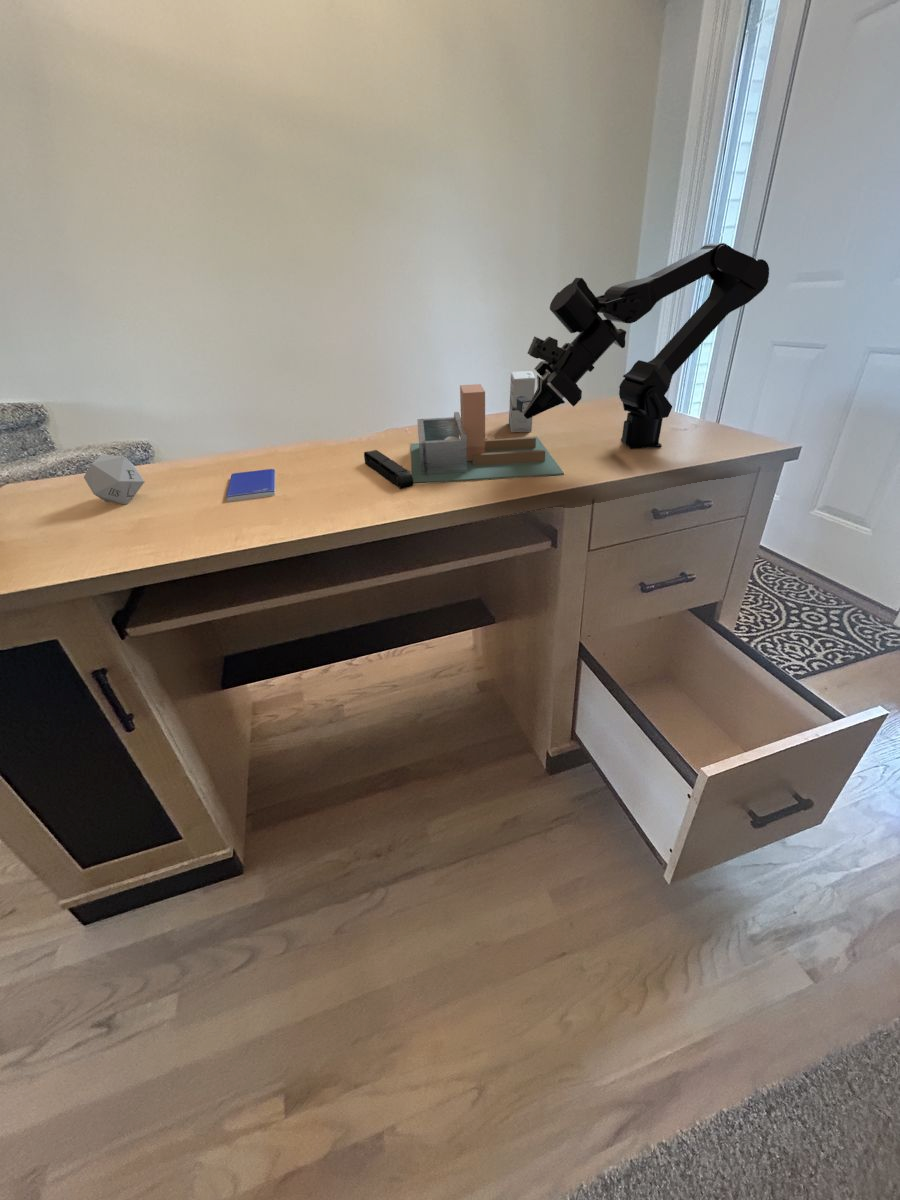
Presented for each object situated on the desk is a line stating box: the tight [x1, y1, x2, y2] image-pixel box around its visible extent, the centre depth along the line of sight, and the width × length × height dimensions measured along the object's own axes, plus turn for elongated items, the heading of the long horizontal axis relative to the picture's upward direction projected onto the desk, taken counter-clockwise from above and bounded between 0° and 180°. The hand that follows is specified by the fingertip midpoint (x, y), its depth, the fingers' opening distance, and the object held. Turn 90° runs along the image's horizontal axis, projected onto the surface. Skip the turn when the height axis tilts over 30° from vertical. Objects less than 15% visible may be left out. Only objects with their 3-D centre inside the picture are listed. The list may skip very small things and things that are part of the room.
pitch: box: [410, 435, 565, 485], centre depth 106 cm, size 28×24×2 cm
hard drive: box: [225, 468, 276, 503], centre depth 98 cm, size 2×8×12 cm
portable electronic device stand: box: [363, 449, 414, 490], centre depth 100 cm, size 18×3×3 cm, turn 29°
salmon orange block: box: [459, 383, 486, 461], centre depth 103 cm, size 4×7×13 cm, turn 4°
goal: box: [416, 411, 467, 475], centre depth 104 cm, size 9×17×7 cm, turn 4°
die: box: [83, 453, 145, 505], centre depth 93 cm, size 8×9×10 cm
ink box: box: [508, 370, 536, 433], centre depth 122 cm, size 9×5×12 cm, turn 179°
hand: (525, 417), depth 103 cm, fingers closed
